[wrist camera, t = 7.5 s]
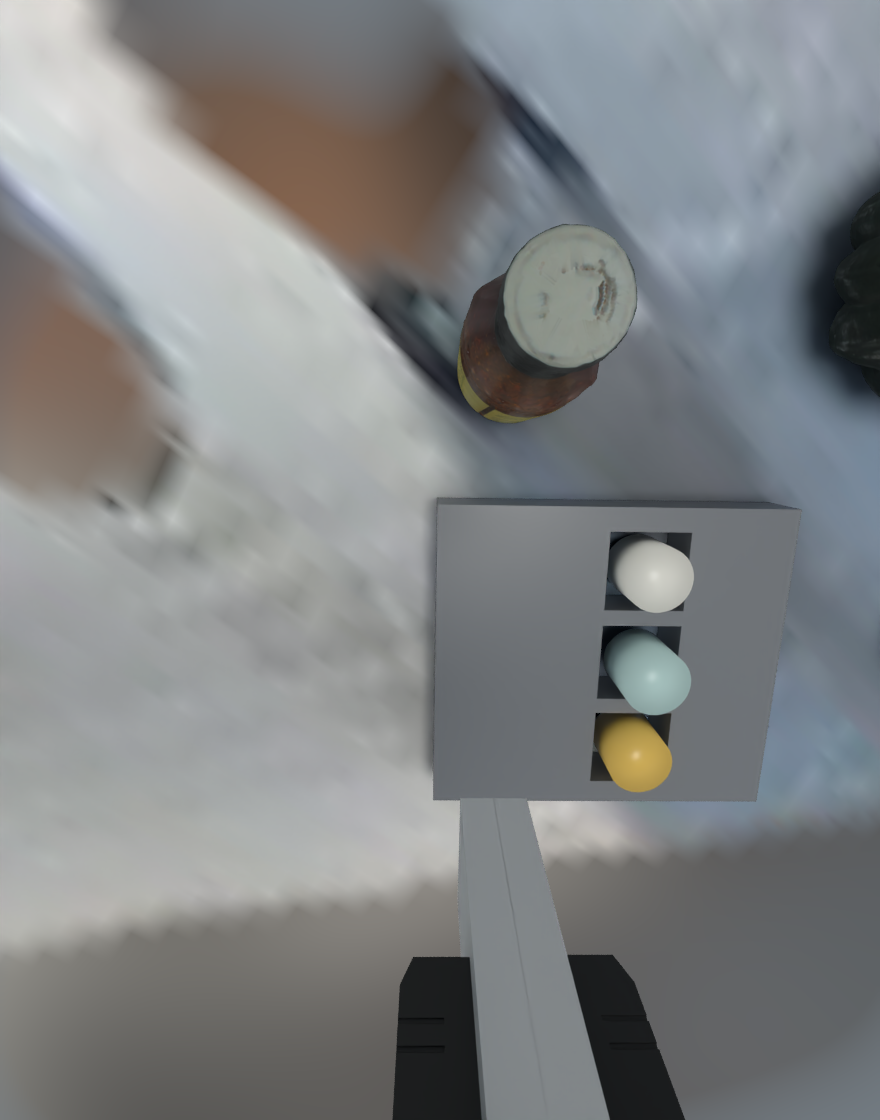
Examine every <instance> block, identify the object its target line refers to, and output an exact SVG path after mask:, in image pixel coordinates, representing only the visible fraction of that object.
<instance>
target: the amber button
mask: <svg viewBox="0 0 880 1120" xmlns="http://www.w3.org/2000/svg"><path fill="white" fill-rule="evenodd" d="M593 742H594V745H595V746H596V748H597V750H598V752H599V754H600V756H601V758H602V760H603V762H604V764H605V766H606V768H607V770H608V771H609V773H610V775H611V777H612V779H613V781H614V782H615V783H616V784H617V785H618V786H619V787H621V788H623V789H625V790H627V791H631V792H645V791H649V790H651V789H654V788H656V787H657V786H659V785H660V784H661V783H662V782H664V780H665V779H666V778H667V777H668V775H669V773H670V771H671V767H672V756H671V752H670V750H669V748H668V747H667V745H666V744H665V743H664V741H663V740H662V739H661V737H660V736H659V735H658V733H657V732H656V731H655V729H654V728H653V727H652V725H651V724H650V723H649V721H648V720H647V719H646V717H645V716H644V715H643V714H642V713H601V714H600V715H599V716H598V717H597V719H596V720H595V727H594V739H593Z"/></svg>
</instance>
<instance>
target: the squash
mask: <svg viewBox="0 0 880 1120" xmlns="http://www.w3.org/2000/svg"><path fill="white" fill-rule="evenodd" d="M850 238H851V243H852V246H853V248H854V249H855V251H854V252H852V253H851V254H850V255H848V256H847V257H846V258H845V259H844V260H842V261H841V263H840V264H839V266H838V267H837V269H836V273H835V277H834V285H835V287H836V290H837V292H838V295H839V296H840V297H841V298H842V300H843V301H844V302H845V304H844V305H843V306H842V307H841V308H840V310H839V311H838V313H837V314H836V317H835V319H834V321H833V323H832V325H831V328H830V330H829V346H830V348H831V349H832V350H833V351H834V352H835V353H836V354H837V355H838V356H841V357H843V358H845V359H847V360H849V361H850V362H852V363H854V364H858V365H861V368H862V374H863V376H864V378H865V380H866V382H867V383H868V385H869V386H870V388H871V389H872V390H873V391H874V392H875V393H876V394H877V395H878V396H879V397H880V192H878V193H877V194H875V195H874V196H873V197H871V198H870V199H869V200H868V201H867V202H865V203H864V205H863V206H862V207H861V208H860V209H859V211H858V212H857V214H856V216H855V217H854V219H853V222H852V225H851V230H850Z"/></svg>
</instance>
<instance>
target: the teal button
mask: <svg viewBox="0 0 880 1120" xmlns="http://www.w3.org/2000/svg"><path fill="white" fill-rule="evenodd" d="M603 662H604V667H605V670H606V672H607V674H608V675H609V676H610V678H611V679H612V681H613V682H614V683H615V685H616V686H617V688H618V689H619V690H620V692H621V693H622V694H623V696H624V697H625V699H626V700H627V701H628V703H629V704H630V705H631V706H632V707H633V708H634V709H636V710H637V711H639V712H641V713H644V714H648V715H661V714H665V713H668V712H670V711H672V710H674V709H676V708H677V707H678V706H679V705H680V704H682V702H683V701H684V700H685V699H686V697H687V695H688V693H689V691H690V687H691V675H690V671H689V669H688V667H687V665H686V664H685V663H684V661H682V660H681V659H680V658H679V657H678V656H677V655H676V654H675V653H674V652H673V651H672V650H671V649H669V648H668V647H667V646H666V645H665V644H664V643H663V642H662V641H661V640H660V639H659V638H657V637H656V636H655V635H654V634H653V633H651V632H649V631H647V630H643V629H629V630H626V631H623V632H621V633H619V634H617V635H616V636H615V637H614V638H613V639H612V640H611V641H610V642H609V643H608V645H607V647H606V649H605V652H604V657H603Z"/></svg>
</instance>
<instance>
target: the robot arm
mask: <svg viewBox="0 0 880 1120" xmlns="http://www.w3.org/2000/svg"><path fill="white" fill-rule="evenodd" d="M458 913H459V930H460V947H461V957H413V959H412V961H411V963H410V965H409V967H408V969H407V971H406V973H405V975H404V977H403V980H402V982H401V984H400V993H399V1013H398V1030H397V1051H396V1067H395V1086H394V1105H393V1120H685V1118H684V1116H683V1113H682V1110H681V1107H680V1105H679V1102H678V1099H677V1097H676V1094H675V1091H674V1088H673V1086H672V1083H671V1080H670V1078H669V1075H668V1072H667V1069H666V1067H665V1064H664V1061H663V1059H662V1056H661V1053H660V1050H659V1049H657V1045H656V1040H655V1037H654V1034H653V1031H652V1029H651V1026H650V1023H649V1021H647V1018H646V1012H645V1010H644V1007H643V1004H642V1002H641V999H640V996H639V994H638V991H637V988H636V985H635V983H634V981H633V980H632V979H631V977H630V976H629V975H628V974H627V972H626V971H625V970H624V969H623V967H622V966H621V965H620V964H619V962H618V961H617V960H616V959H615V957H614V956H613V955H567V953H566V950H565V945H564V941H563V938H562V934H561V930H560V926H559V922H558V918H557V915H556V911H555V907H554V903H553V899H552V895H551V891H550V888H549V884H548V880H547V876H546V872H545V868H544V864H543V861H542V857H541V853H540V849H539V845H538V841H537V837H536V834H535V830H534V826H533V822H532V818H531V814H530V811H529V807H528V803H527V799H526V798H460V832H459V869H458Z"/></svg>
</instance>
